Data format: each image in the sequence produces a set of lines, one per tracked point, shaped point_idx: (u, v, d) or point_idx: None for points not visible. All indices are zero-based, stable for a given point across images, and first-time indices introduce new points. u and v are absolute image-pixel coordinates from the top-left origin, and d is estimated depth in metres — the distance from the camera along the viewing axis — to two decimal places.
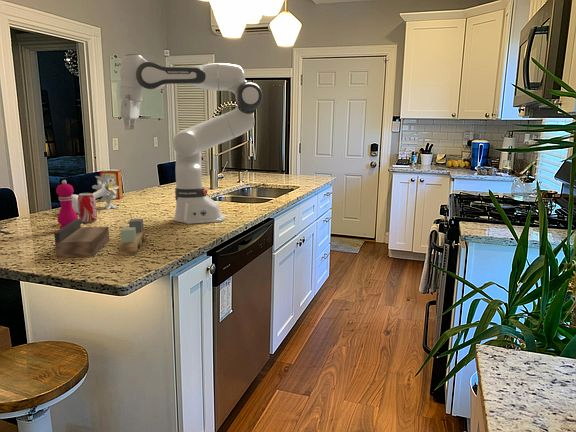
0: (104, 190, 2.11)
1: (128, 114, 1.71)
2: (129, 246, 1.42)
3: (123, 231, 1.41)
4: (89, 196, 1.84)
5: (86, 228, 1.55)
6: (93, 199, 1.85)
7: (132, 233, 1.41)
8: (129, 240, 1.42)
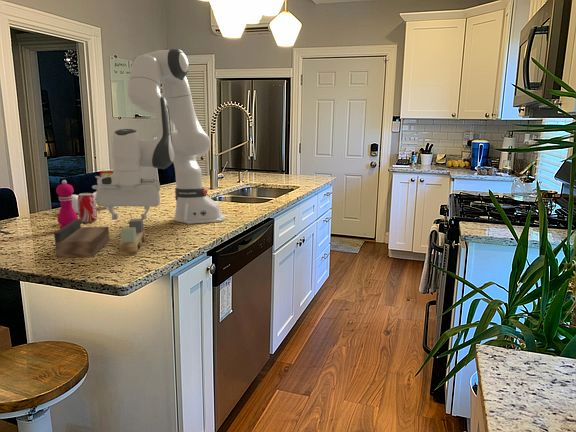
0: None
1: (159, 200, 1.50)
2: (129, 246, 1.42)
3: (123, 231, 1.41)
4: (89, 196, 1.84)
5: (86, 228, 1.55)
6: (93, 199, 1.85)
7: (132, 233, 1.41)
8: (129, 240, 1.42)
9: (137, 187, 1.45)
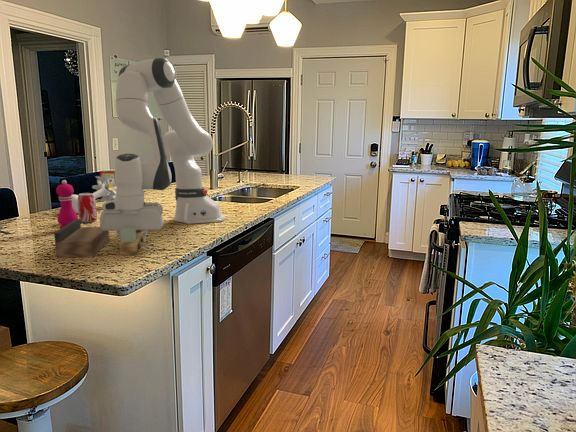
0: (104, 190, 2.11)
1: (162, 222, 1.52)
2: (129, 246, 1.42)
3: (123, 231, 1.41)
4: (89, 196, 1.84)
5: (86, 228, 1.55)
6: (93, 199, 1.85)
7: (132, 233, 1.41)
8: (129, 240, 1.42)
9: (140, 211, 1.47)
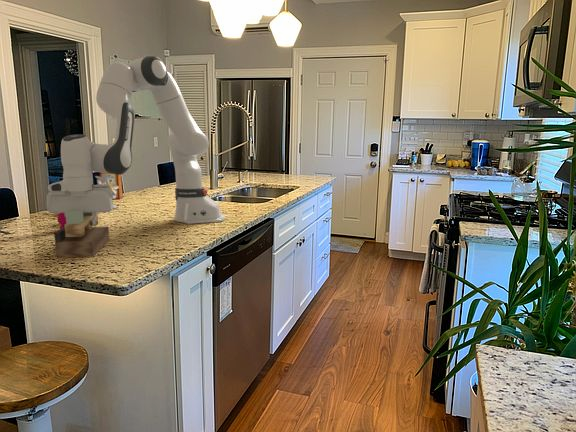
0: None
1: (112, 205, 1.48)
2: (75, 228, 1.38)
3: (68, 213, 1.37)
4: None
5: None
6: None
7: (78, 215, 1.38)
8: (75, 222, 1.38)
9: (88, 193, 1.43)
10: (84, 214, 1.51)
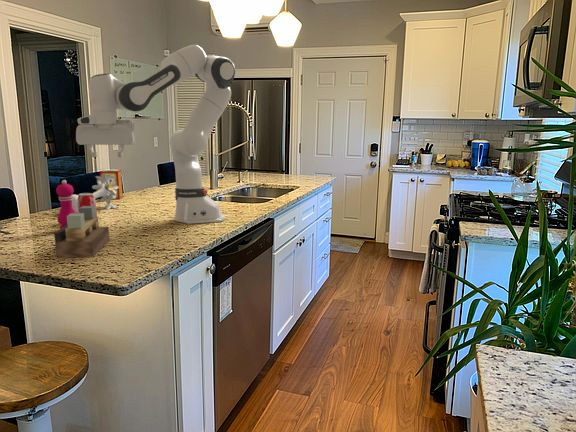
0: (104, 190, 2.11)
1: (134, 140, 1.66)
2: (75, 232, 1.38)
3: (70, 217, 1.38)
4: (89, 196, 1.84)
5: None
6: (93, 199, 1.85)
7: (79, 219, 1.38)
8: (76, 226, 1.39)
9: (113, 126, 1.61)
10: (84, 218, 1.51)
